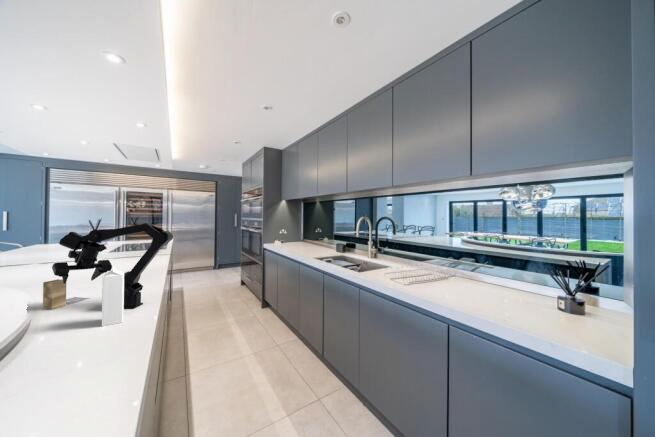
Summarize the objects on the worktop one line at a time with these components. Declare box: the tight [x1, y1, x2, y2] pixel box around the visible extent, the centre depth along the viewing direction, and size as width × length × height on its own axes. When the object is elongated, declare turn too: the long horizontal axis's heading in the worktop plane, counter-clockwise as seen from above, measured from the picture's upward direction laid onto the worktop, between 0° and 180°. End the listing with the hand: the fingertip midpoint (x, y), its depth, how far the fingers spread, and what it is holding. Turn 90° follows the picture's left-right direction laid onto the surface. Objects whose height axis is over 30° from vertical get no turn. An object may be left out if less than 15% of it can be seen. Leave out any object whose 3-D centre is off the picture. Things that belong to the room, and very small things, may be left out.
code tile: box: [66, 296, 91, 306], centre depth 116 cm, size 10×9×1 cm
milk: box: [101, 265, 125, 327], centre depth 94 cm, size 6×6×22 cm
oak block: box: [42, 279, 67, 311], centre depth 107 cm, size 5×5×12 cm
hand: (78, 281), depth 110 cm, fingers open, 9 cm apart
